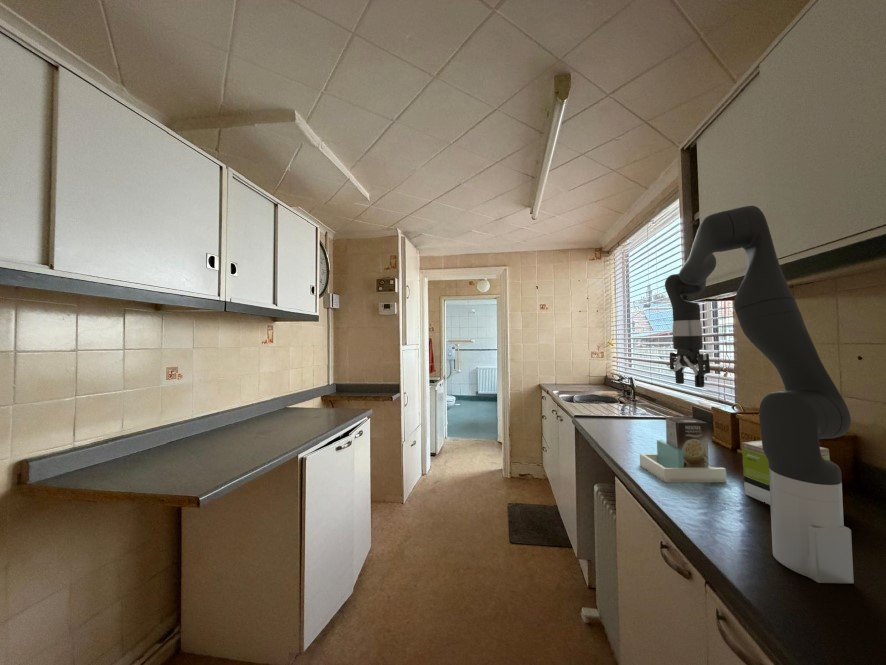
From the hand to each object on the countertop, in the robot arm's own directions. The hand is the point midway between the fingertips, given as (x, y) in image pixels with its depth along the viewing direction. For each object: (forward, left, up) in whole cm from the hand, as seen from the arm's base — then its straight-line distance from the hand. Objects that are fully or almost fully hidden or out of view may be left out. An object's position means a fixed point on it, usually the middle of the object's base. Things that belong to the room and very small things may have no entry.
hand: (689, 385), depth 102 cm
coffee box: (+1, +1, -28) cm, 28 cm away
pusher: (+1, +6, -27) cm, 28 cm away
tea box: (-16, -13, -29) cm, 35 cm away
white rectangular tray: (+1, +3, -28) cm, 29 cm away
